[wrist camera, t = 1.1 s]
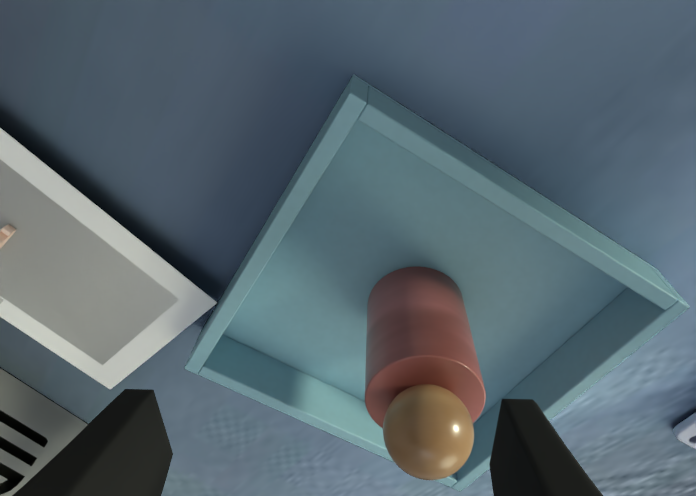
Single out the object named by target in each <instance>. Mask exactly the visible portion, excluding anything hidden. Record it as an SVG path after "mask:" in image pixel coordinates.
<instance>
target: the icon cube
mask: <svg viewBox="0 0 696 496" xmlns="http://www.w3.org/2000/svg"><path fill="white" fill-rule="evenodd" d="M87 425H88V424H87V423H85V422H83V421H82V420H80V419H79V418H77V417H76V416H74V415H72V414H71V413H69V412H68V411H66V410H65V409H63V408H62V407H60V406H58V405H57V404H55V403H54V402H52V401H51V400H49V399H47V398H46V397H44V396H43V395H41V394H40V393H38V392H37V391H35V390H33V389H32V388H30V387H29V386H27V385H26V384H24V383H22V382H21V381H19V380H18V379H16V378H15V377H13V376H12V375H10V374H8V373H7V372H5V371H4V370H2V369H1V368H0V496H12V495H13V494H15V493H16V492H17V491H18V490H19V489H20V488H21V487H23V486H24V485H25V484H26V483H27V482H28V481H29V480H30V479H31V478H32V477H33V476H35V475H36V474H37V473H38V472H39V471H40V470H41V469H42V468H43V467H44V466H45V465H46V464H47V463H48V462H49V461H51V460H52V459H53V458H54V457H55V456H56V455H57V454H58V453H59V452H60V451H61V450H62V449H63V448H64V447H65V446H67V445H68V444H69V443H70V442H71V441H72V440H73V439H74V438H75V437H76V436H77V435H78V434H79V433H80V432H81V431H82V430H83V429H84V428H85V427H86V426H87Z"/></svg>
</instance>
